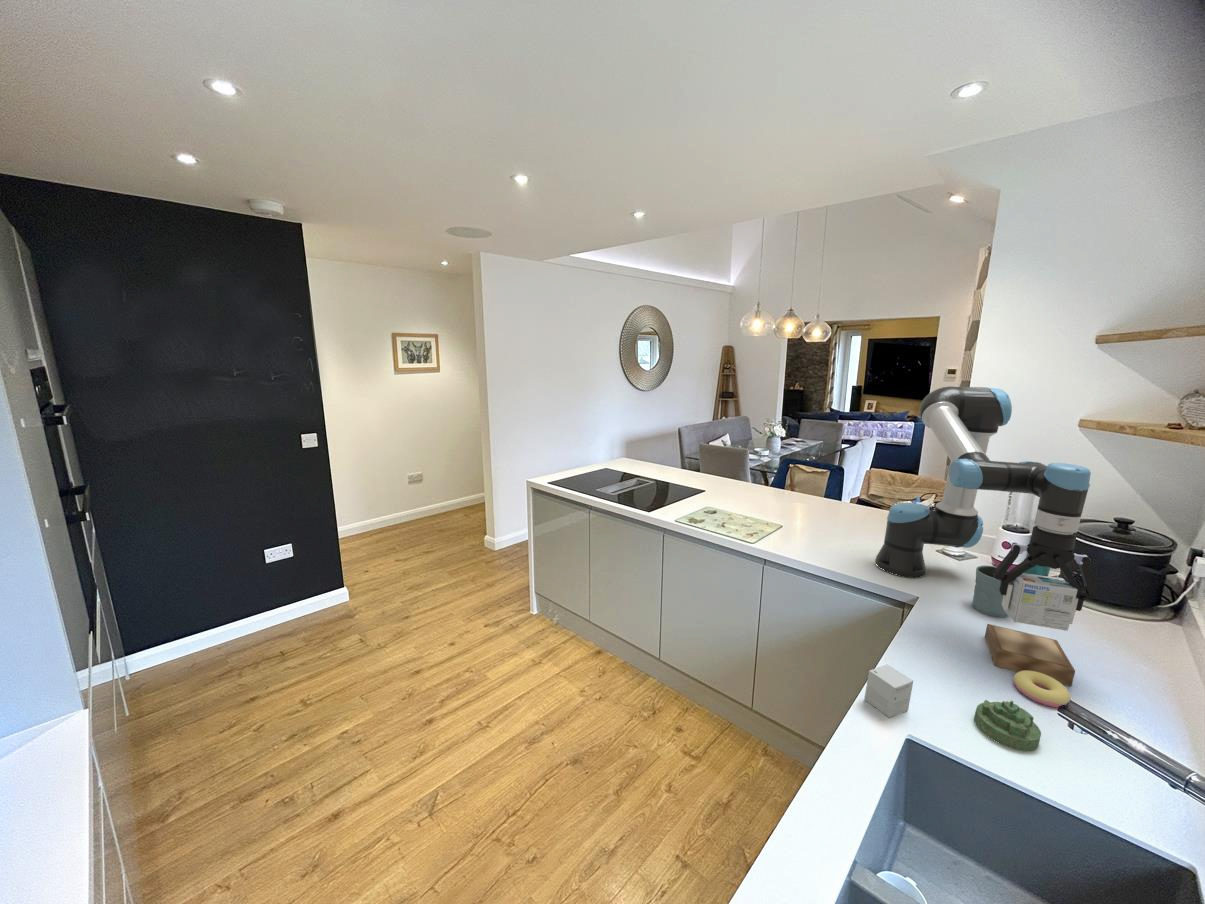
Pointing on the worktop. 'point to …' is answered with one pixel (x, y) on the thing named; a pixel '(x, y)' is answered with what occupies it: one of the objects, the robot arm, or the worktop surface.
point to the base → (1028, 653)
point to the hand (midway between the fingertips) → (1035, 613)
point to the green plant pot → (988, 592)
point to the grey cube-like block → (888, 690)
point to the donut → (1041, 688)
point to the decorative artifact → (1008, 725)
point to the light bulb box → (1041, 601)
